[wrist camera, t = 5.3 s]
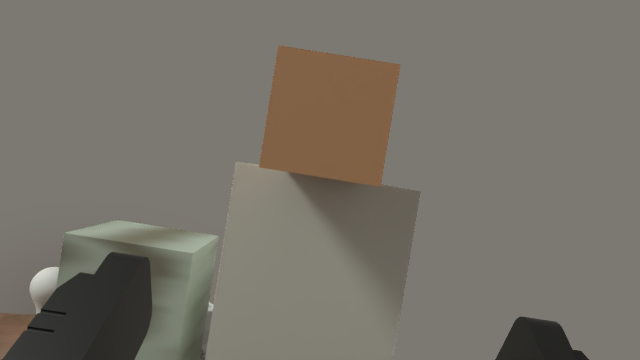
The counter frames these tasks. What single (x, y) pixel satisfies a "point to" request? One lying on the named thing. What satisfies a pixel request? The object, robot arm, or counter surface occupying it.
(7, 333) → the counter surface
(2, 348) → the counter surface
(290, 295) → the stand
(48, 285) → the lightbulb
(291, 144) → the bar
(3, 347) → the counter surface
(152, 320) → the tower
